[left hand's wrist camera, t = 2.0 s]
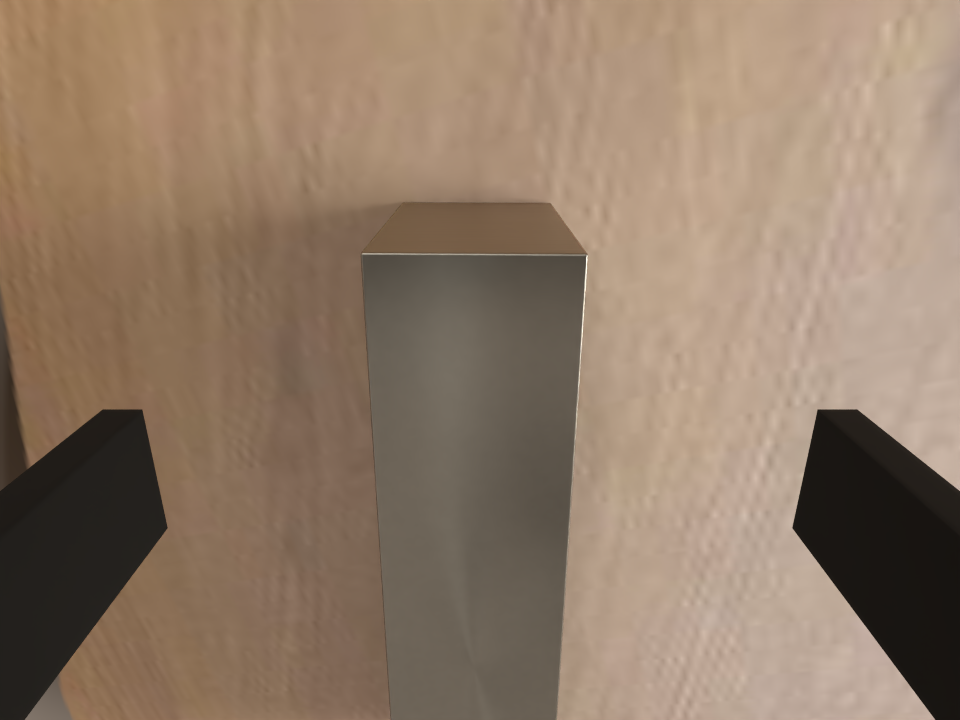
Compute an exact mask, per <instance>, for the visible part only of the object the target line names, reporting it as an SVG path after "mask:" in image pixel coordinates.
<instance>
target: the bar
mask: <svg viewBox="0 0 960 720" xmlns="http://www.w3.org/2000/svg"><path fill="white" fill-rule="evenodd" d="M587 263H588V254H587V253H586V251H585V250H584V249H583V247H582V246H581V245H580V243H579V242H578V240H577V239H576V238H575V236H574V235H573V234H572V232H571V231H570V229H569V228H568V227H567V225H566V224H565V223H564V221H563V220H562V218H561V217H560V216H559V214H558V213H557V212H556V210H555V209H554V207H553V206H552V205H551V204H550V203H402V204H401V206H400V207H399V208H398V209H397V210H396V212H395V213H394V214H393V215H392V217H391V218H390V219H389V220H388V221H387V223H386V224H385V225H384V226H383V227H382V229H381V230H380V231H379V232H378V233H377V235H376V236H375V237H374V238H373V239H372V241H371V242H370V243H369V244H368V245H367V247H366V248H365V249H364V250H363V251H362V253H361V267H362V283H363V298H364V314H365V329H366V345H367V360H368V376H369V391H370V407H371V422H372V438H373V453H374V469H375V484H376V500H377V515H378V531H379V547H380V562H381V578H382V593H383V609H384V624H385V640H386V655H387V671H388V686H389V702H390V717H391V720H557V710H558V695H559V680H560V665H561V650H562V635H563V620H564V605H565V591H566V576H567V561H568V546H569V531H570V516H571V501H572V486H573V471H574V457H575V442H576V427H577V412H578V397H579V382H580V367H581V352H582V337H583V323H584V308H585V293H586V278H587Z"/></svg>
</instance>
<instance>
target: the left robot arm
mask: <svg viewBox="0 0 960 720" xmlns="http://www.w3.org/2000/svg"><path fill="white" fill-rule="evenodd" d="M166 529H167V523H166V518H165V514H164V509H163V504H162V500H161V495H160V490H159V486H158V481H157V476H156V472H155V467H154V462H153V458H152V453H151V448H150V444H149V439H148V434H147V430H146V425H145V420H144V416H143V411H142V410H102V411H100V412H99V413H98V414H97V415H95V416H94V417H93V418H92V419H90V420H89V421H88V422H87V423H85V424H84V425H83V426H82V427H80V428H79V429H78V430H77V431H75V432H74V433H73V434H72V435H70V436H69V437H68V438H66V439H65V440H64V441H63V442H61V443H60V444H59V445H58V446H56V447H55V448H54V449H53V450H51V451H50V452H49V453H48V454H46V455H45V456H44V457H43V458H41V459H40V460H39V461H38V462H36V463H35V464H34V465H33V466H31V467H30V468H29V469H28V470H26V471H25V472H24V473H23V474H21V475H20V476H19V477H18V478H16V479H15V480H14V481H12V482H11V483H10V484H9V485H8V486H6V487H5V488H4V489H2V490H1V491H0V720H25V718H26V717H27V716H28V714H29V713H30V712H31V710H32V709H33V708H34V706H35V705H36V704H37V702H38V701H39V700H40V698H41V697H42V696H43V694H44V693H45V692H46V690H47V689H48V688H49V686H50V685H51V684H52V682H53V681H54V680H55V678H56V677H57V676H58V674H59V673H60V672H61V670H62V669H63V668H64V666H65V665H66V664H67V662H68V661H69V660H70V658H71V657H72V655H73V654H74V653H75V651H76V650H77V649H78V647H79V646H80V645H81V643H82V642H83V641H84V639H85V638H86V637H87V635H88V634H89V633H90V631H91V630H92V629H93V627H94V626H95V625H96V623H97V622H98V621H99V619H100V618H101V617H102V615H103V614H104V613H105V611H106V610H107V609H108V607H109V606H110V605H111V603H112V602H113V601H114V599H115V598H116V596H117V595H118V594H119V592H120V591H121V590H122V588H123V587H124V586H125V584H126V583H127V582H128V580H129V579H130V578H131V576H132V575H133V574H134V572H135V571H136V570H137V568H138V567H139V566H140V564H141V563H142V562H143V560H144V559H145V558H146V556H147V555H148V554H149V552H150V551H151V550H152V548H153V547H154V546H155V544H156V543H157V542H158V540H159V539H160V538H161V536H162V535H163V533H164V532H165V531H166ZM793 529H794V531H795V532H796V533H797V535H798V536H799V538H800V539H801V540H802V542H803V543H804V544H805V546H806V547H807V548H808V550H809V551H810V552H811V554H812V555H813V556H814V558H815V559H816V560H817V562H818V563H819V564H820V566H821V567H822V568H823V570H824V571H825V572H826V574H827V575H828V576H829V578H830V579H831V580H832V582H833V583H834V584H835V586H836V587H837V588H838V590H839V591H840V592H841V594H842V595H843V596H844V598H845V599H846V601H847V602H848V603H849V605H850V606H851V607H852V609H853V610H854V611H855V613H856V614H857V615H858V617H859V618H860V619H861V621H862V622H863V623H864V625H865V626H866V627H867V629H868V630H869V631H870V633H871V634H872V635H873V637H874V638H875V639H876V641H877V642H878V643H879V645H880V646H881V647H882V649H883V650H884V651H885V653H886V654H887V655H888V657H889V658H890V660H891V661H892V662H893V664H894V665H895V666H896V668H897V669H898V670H899V672H900V673H901V674H902V676H903V677H904V678H905V680H906V681H907V682H908V684H909V685H910V686H911V688H912V689H913V690H914V692H915V693H916V694H917V696H918V697H919V698H920V700H921V701H922V702H923V704H924V705H925V706H926V708H927V709H928V710H929V712H930V713H931V714H932V716H933V717H934V718H935V720H960V491H959V490H958V489H956V488H955V487H954V486H953V485H951V484H950V483H949V482H948V481H946V480H945V479H944V478H942V477H941V476H940V475H939V474H937V473H936V472H935V471H934V470H932V469H931V468H930V467H929V466H927V465H926V464H925V463H924V462H922V461H921V460H920V459H919V458H917V457H916V456H915V455H914V454H912V453H911V452H910V451H909V450H907V449H906V448H905V447H904V446H902V445H901V444H900V443H899V442H897V441H896V440H895V439H894V438H892V437H891V436H890V435H888V434H887V433H886V432H885V431H883V430H882V429H881V428H880V427H878V426H877V425H876V424H875V423H873V422H872V421H871V420H870V419H868V418H867V417H866V416H865V415H863V414H862V413H861V412H860V411H858V410H818V411H817V416H816V420H815V425H814V430H813V434H812V439H811V444H810V448H809V453H808V458H807V462H806V467H805V472H804V476H803V481H802V486H801V490H800V495H799V500H798V504H797V509H796V514H795V518H794V523H793Z"/></svg>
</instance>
